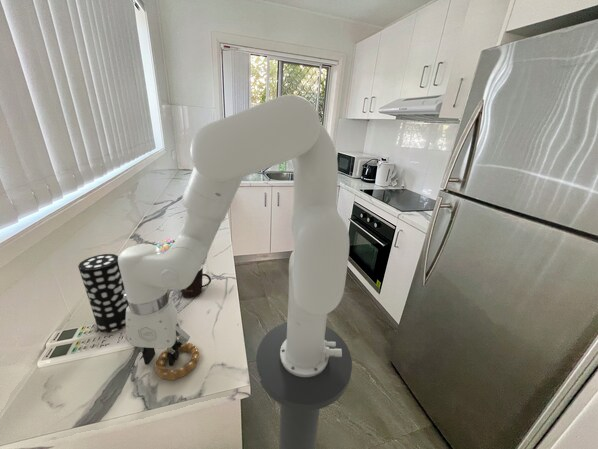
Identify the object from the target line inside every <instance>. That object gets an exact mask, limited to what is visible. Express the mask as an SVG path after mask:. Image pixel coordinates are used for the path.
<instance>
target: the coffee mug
mask: <svg viewBox="0 0 598 449" xmlns="http://www.w3.org/2000/svg"><path fill="white" fill-rule="evenodd" d="M203 270H204V265H203V264H202V265H201V267H200V269H199V271H198V273H197V275H196V277H195V279H194V280H193V282H192V283H191V284H190V285H189V286H188V287H187V288H185V289H182V290H180V291H181V296H182V297H183V298H184V299H194V298H197V297H198V296H200V295H201V294H202V292H203V288H205V287H208V286H209V285H210V284H211V282H212V278H211V276H210V275H209V274H207V273H204V271H203ZM203 277H207V279H208V283H206V284H203Z"/></svg>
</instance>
